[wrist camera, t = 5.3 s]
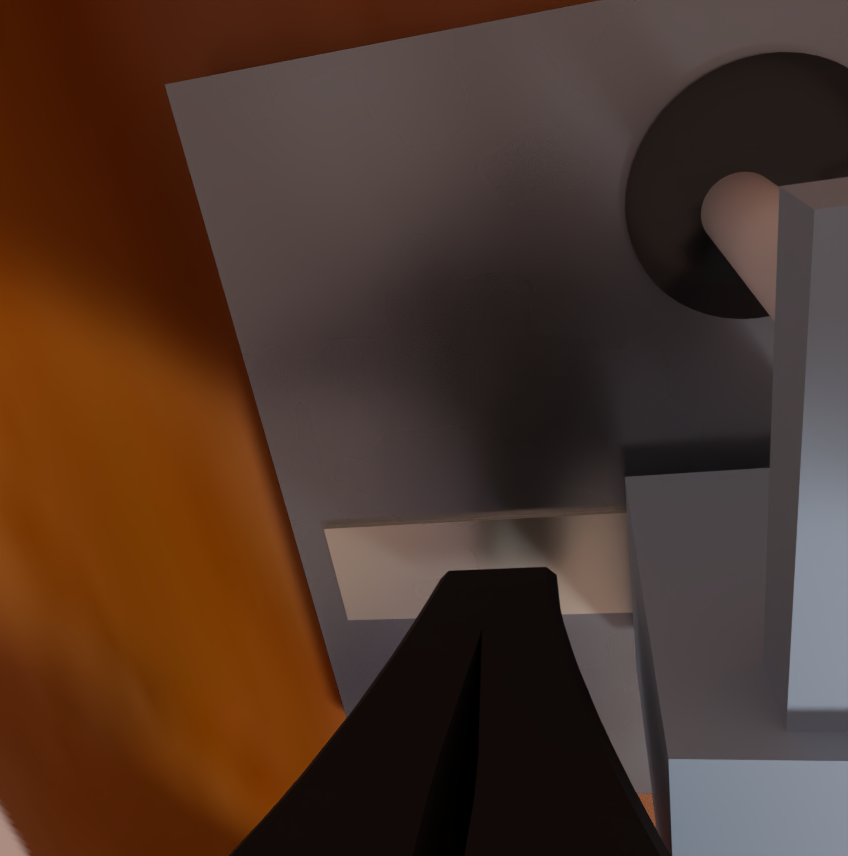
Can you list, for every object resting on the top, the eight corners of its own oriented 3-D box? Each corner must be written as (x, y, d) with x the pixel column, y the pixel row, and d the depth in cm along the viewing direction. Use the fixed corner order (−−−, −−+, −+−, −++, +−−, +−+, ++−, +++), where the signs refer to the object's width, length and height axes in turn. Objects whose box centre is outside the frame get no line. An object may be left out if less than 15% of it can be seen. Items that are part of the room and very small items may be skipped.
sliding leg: (828, 665, 10) (982, 1018, 6) (636, 668, 10) (677, 995, 7) (877, 102, 7) (1209, 173, 3) (605, 144, 7) (647, 243, 4)
